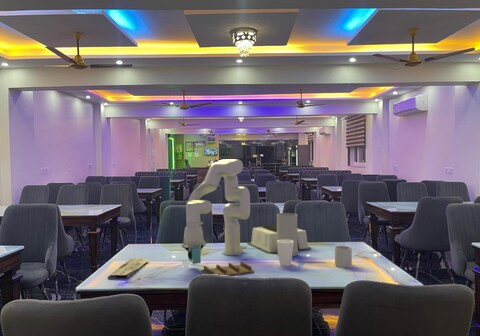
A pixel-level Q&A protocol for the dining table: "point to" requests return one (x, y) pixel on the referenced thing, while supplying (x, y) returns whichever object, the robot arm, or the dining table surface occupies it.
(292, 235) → the cylinder vase
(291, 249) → the foam cup
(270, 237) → the cake box
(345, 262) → the mug
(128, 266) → the newspaper
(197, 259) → the block
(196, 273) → the dining table surface
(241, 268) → the rack
